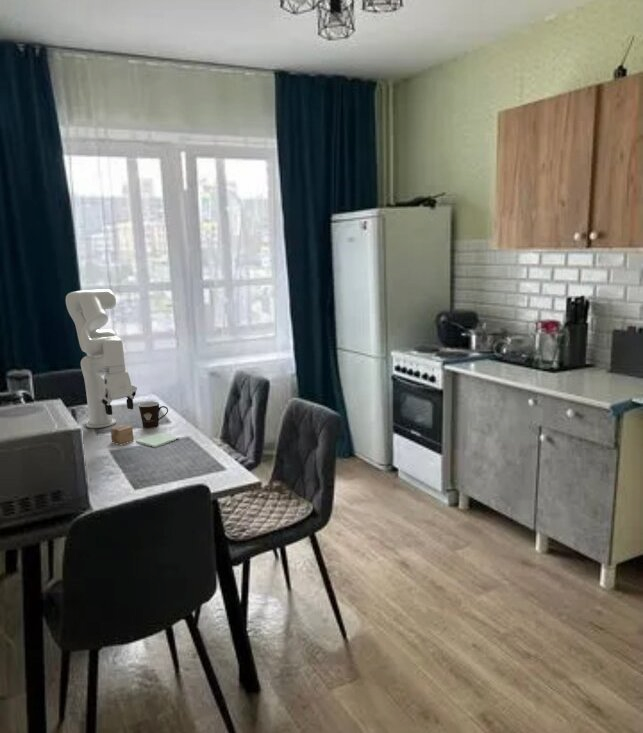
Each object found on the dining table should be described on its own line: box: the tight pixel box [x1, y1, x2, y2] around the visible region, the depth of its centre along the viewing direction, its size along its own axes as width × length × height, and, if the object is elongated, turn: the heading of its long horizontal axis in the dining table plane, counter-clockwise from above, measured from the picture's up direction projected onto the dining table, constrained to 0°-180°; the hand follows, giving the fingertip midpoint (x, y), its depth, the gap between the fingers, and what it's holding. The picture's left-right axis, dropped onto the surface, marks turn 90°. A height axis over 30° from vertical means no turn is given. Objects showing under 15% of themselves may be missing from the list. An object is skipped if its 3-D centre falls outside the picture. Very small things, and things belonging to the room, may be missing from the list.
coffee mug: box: [138, 401, 169, 429], centre depth 258 cm, size 12×9×10 cm
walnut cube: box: [110, 424, 134, 445], centre depth 239 cm, size 6×6×6 cm
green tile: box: [135, 432, 180, 448], centre depth 239 cm, size 12×12×1 cm
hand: (120, 411), depth 237 cm, fingers open, 9 cm apart
